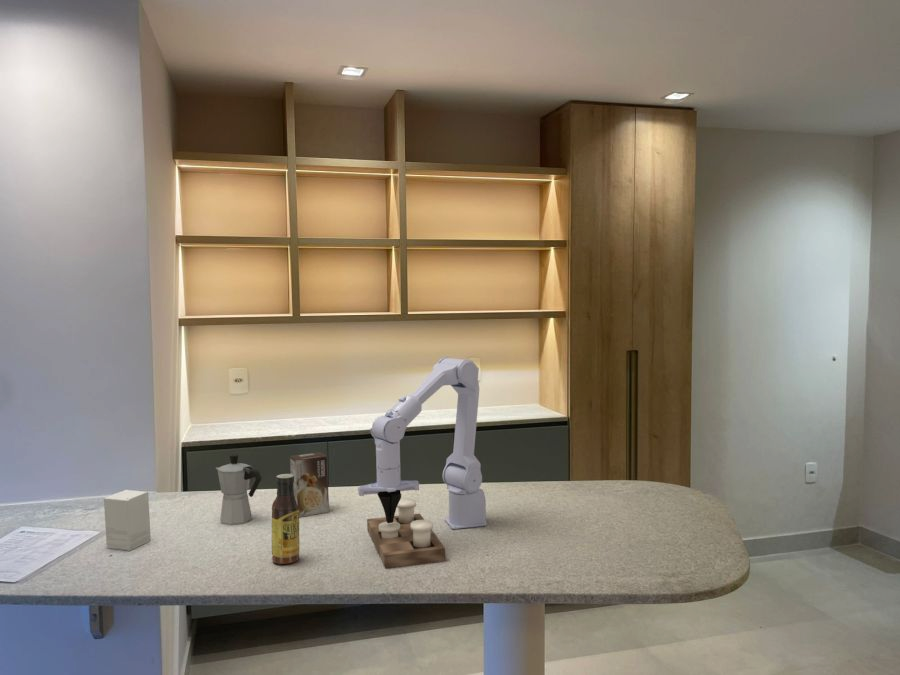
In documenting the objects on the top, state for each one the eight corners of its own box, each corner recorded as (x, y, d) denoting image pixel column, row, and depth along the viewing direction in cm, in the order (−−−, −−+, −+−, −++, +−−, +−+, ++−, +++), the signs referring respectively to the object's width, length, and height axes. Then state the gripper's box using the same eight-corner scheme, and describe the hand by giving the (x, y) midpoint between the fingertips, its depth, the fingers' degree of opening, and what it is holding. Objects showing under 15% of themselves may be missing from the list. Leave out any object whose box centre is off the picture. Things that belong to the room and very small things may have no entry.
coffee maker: (206, 522, 186) (203, 456, 184) (228, 512, 194) (226, 449, 192) (251, 528, 180) (249, 461, 179) (272, 518, 188) (270, 453, 187)
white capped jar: (414, 516, 179) (413, 497, 179) (418, 522, 174) (418, 503, 174) (394, 518, 178) (394, 499, 178) (398, 525, 173) (398, 505, 173)
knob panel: (420, 524, 182) (419, 513, 181) (445, 560, 158) (445, 548, 157) (367, 530, 178) (367, 519, 178) (385, 568, 154) (384, 555, 154)
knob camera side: (430, 539, 163) (429, 518, 163) (435, 547, 158) (435, 526, 158) (408, 541, 162) (408, 521, 161) (413, 549, 157) (413, 528, 156)
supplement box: (151, 540, 172) (149, 491, 171) (129, 551, 165) (126, 500, 164) (128, 537, 175) (126, 488, 174) (105, 548, 168) (102, 497, 167)
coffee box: (322, 506, 198) (321, 451, 197) (329, 512, 192) (328, 456, 191) (291, 511, 194) (289, 455, 192) (297, 518, 188) (295, 460, 187)
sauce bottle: (285, 568, 155) (283, 481, 153) (266, 562, 158) (263, 477, 156) (306, 558, 160) (303, 474, 159) (286, 552, 164) (284, 470, 162)
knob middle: (398, 540, 170) (397, 520, 170) (402, 547, 165) (402, 527, 165) (377, 542, 168) (377, 522, 168) (381, 550, 164) (380, 529, 163)
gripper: (360, 473, 159) (362, 530, 160) (421, 467, 163) (422, 523, 164) (356, 465, 166) (357, 520, 167) (414, 460, 170) (416, 514, 171)
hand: (389, 521), depth 166 cm, fingers closed
